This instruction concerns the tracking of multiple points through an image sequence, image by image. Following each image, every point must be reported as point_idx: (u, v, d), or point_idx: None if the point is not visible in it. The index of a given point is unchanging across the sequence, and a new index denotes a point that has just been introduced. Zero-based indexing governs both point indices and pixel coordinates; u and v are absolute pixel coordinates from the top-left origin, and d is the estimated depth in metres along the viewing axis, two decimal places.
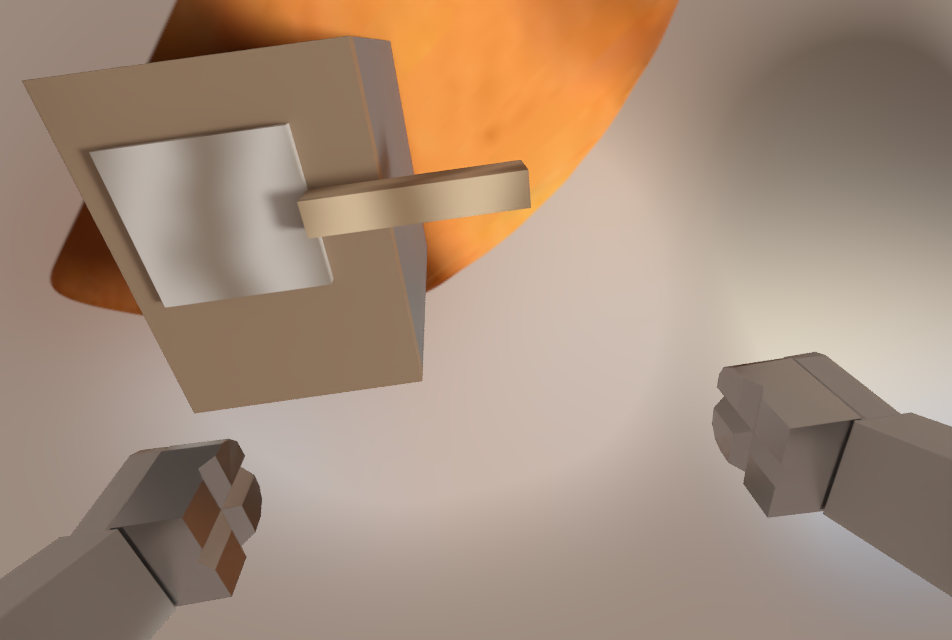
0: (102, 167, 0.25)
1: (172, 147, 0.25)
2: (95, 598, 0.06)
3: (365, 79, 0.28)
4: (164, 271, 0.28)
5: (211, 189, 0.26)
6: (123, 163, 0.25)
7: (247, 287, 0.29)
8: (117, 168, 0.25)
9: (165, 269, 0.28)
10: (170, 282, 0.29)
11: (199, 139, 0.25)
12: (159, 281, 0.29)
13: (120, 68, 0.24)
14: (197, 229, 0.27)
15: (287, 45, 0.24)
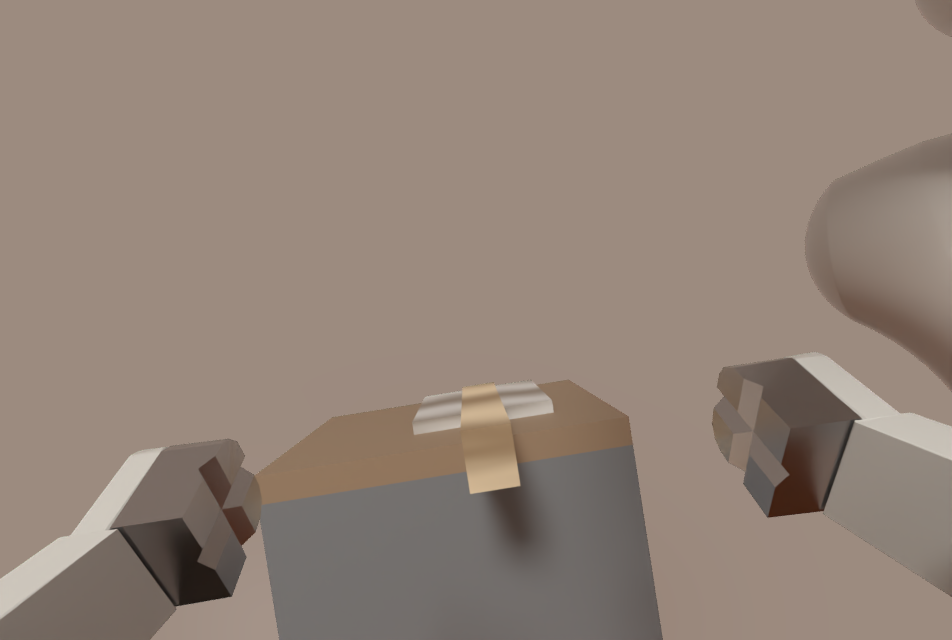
0: (522, 381, 0.41)
1: (534, 387, 0.37)
2: (95, 598, 0.06)
3: (599, 476, 0.27)
4: (451, 394, 0.40)
5: (505, 394, 0.36)
6: (524, 383, 0.40)
7: (427, 406, 0.36)
8: (521, 383, 0.40)
9: (452, 394, 0.40)
10: (442, 395, 0.40)
11: (539, 390, 0.36)
12: (444, 394, 0.41)
13: (580, 387, 0.39)
14: None
15: (611, 406, 0.30)
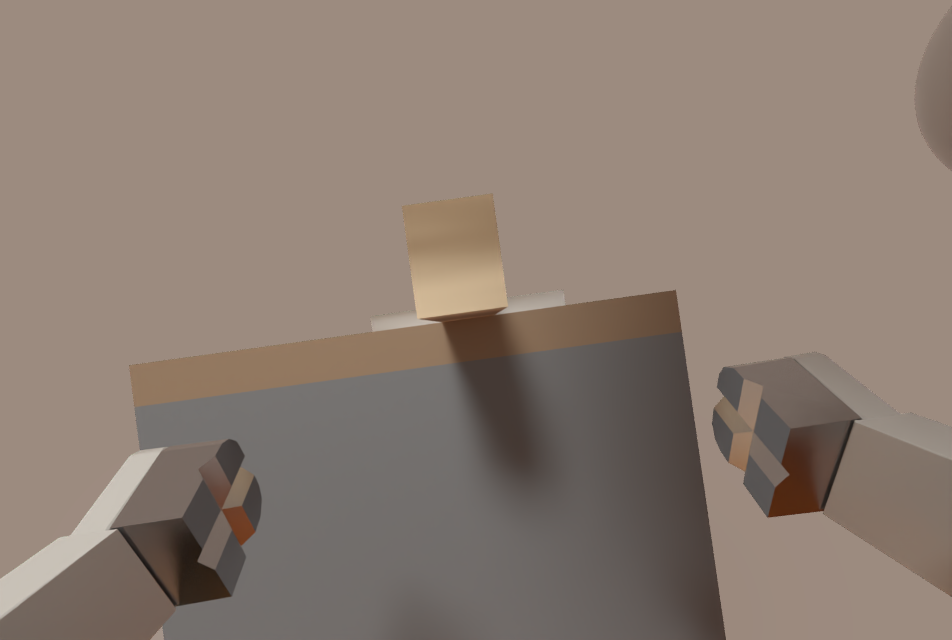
0: None
1: None
2: (95, 598, 0.06)
3: (632, 376, 0.19)
4: None
5: None
6: None
7: None
8: None
9: None
10: None
11: None
12: None
13: None
14: None
15: None
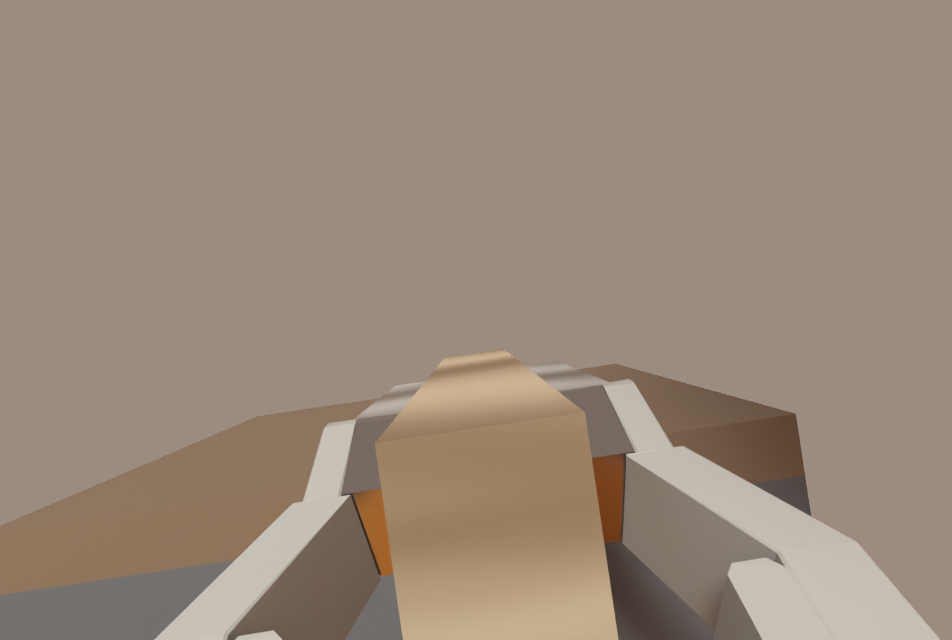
0: (546, 364, 0.26)
1: (569, 369, 0.23)
2: (334, 563, 0.06)
3: None
4: None
5: None
6: (550, 365, 0.25)
7: (390, 398, 0.21)
8: (545, 365, 0.26)
9: None
10: (421, 384, 0.26)
11: (580, 372, 0.21)
12: (425, 382, 0.26)
13: (643, 372, 0.24)
14: None
15: (732, 396, 0.16)
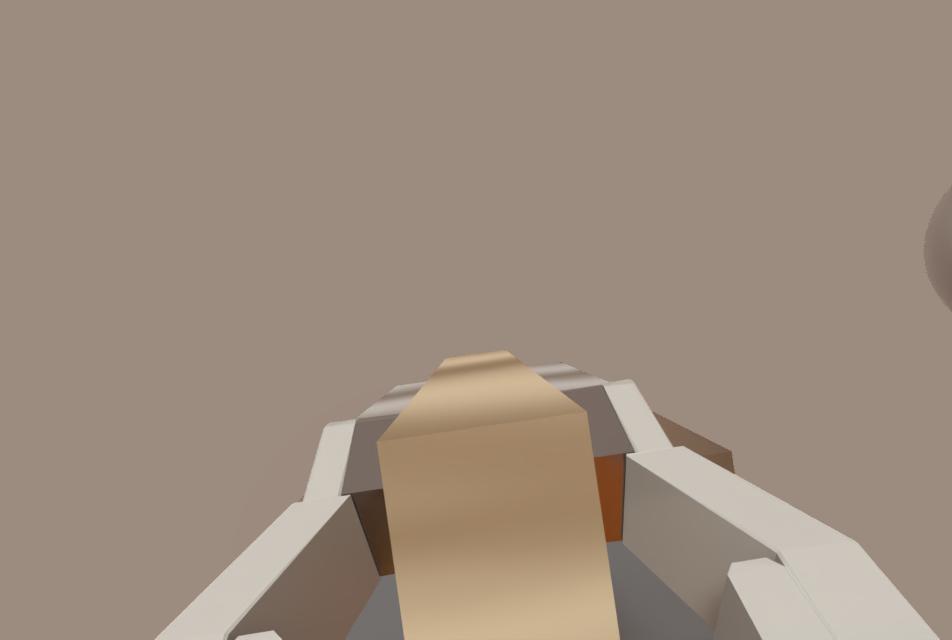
0: (547, 364, 0.26)
1: (570, 370, 0.23)
2: (333, 563, 0.06)
3: None
4: None
5: None
6: (551, 366, 0.25)
7: (391, 398, 0.21)
8: (546, 366, 0.26)
9: None
10: (422, 384, 0.26)
11: (581, 372, 0.21)
12: (426, 382, 0.26)
13: None
14: None
15: None
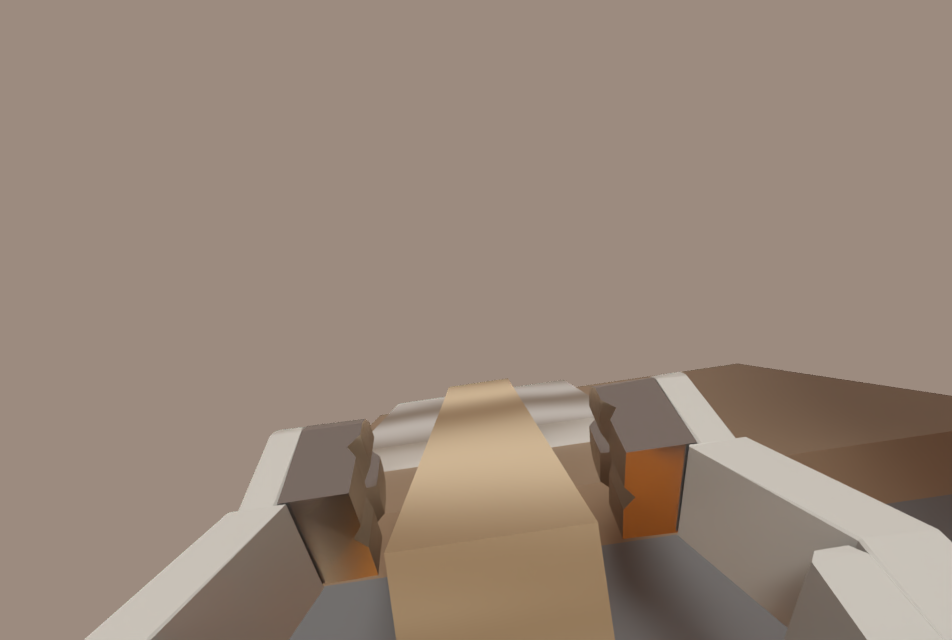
0: (549, 382, 0.26)
1: (573, 391, 0.22)
2: (267, 573, 0.06)
3: None
4: (438, 400, 0.26)
5: (525, 402, 0.21)
6: (554, 385, 0.25)
7: (393, 421, 0.21)
8: (549, 384, 0.26)
9: (439, 400, 0.25)
10: (424, 402, 0.26)
11: (584, 395, 0.21)
12: (428, 400, 0.26)
13: (789, 372, 0.24)
14: None
15: None
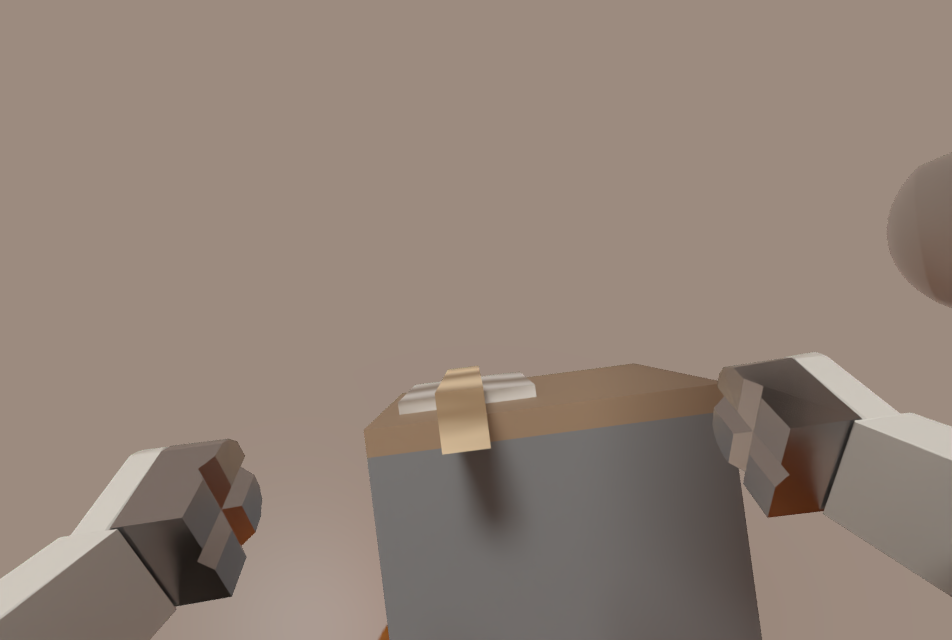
0: (510, 373, 0.42)
1: (520, 376, 0.38)
2: (95, 598, 0.06)
3: (698, 440, 0.28)
4: (440, 382, 0.41)
5: (491, 381, 0.37)
6: (512, 374, 0.41)
7: (415, 391, 0.37)
8: (509, 374, 0.41)
9: (441, 382, 0.41)
10: (431, 384, 0.41)
11: (525, 378, 0.36)
12: (434, 383, 0.42)
13: (653, 368, 0.40)
14: None
15: (701, 377, 0.31)
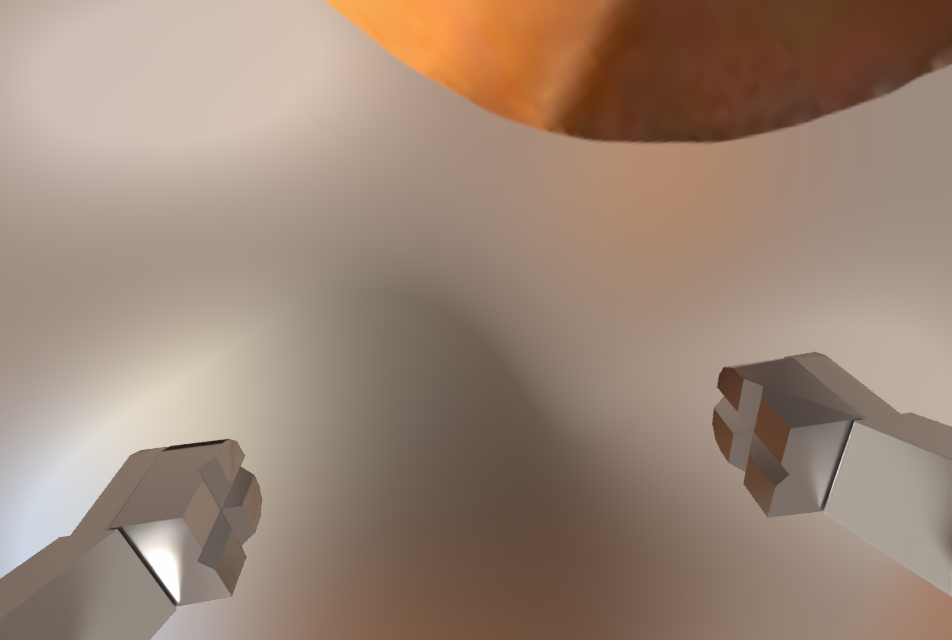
0: None
1: None
2: (95, 598, 0.06)
3: None
4: None
5: None
6: None
7: None
8: None
9: None
10: None
11: None
12: None
13: None
14: None
15: None
